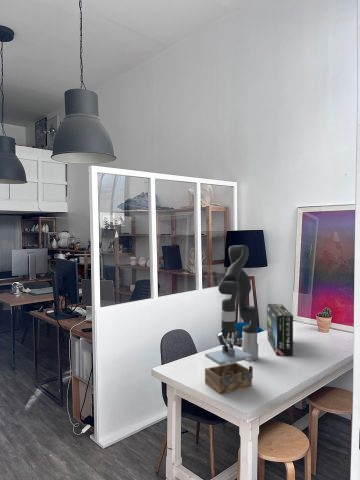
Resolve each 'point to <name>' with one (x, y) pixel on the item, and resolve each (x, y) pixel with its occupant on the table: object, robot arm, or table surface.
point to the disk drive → (237, 343)
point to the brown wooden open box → (228, 377)
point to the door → (228, 356)
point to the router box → (280, 329)
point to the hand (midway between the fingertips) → (228, 351)
